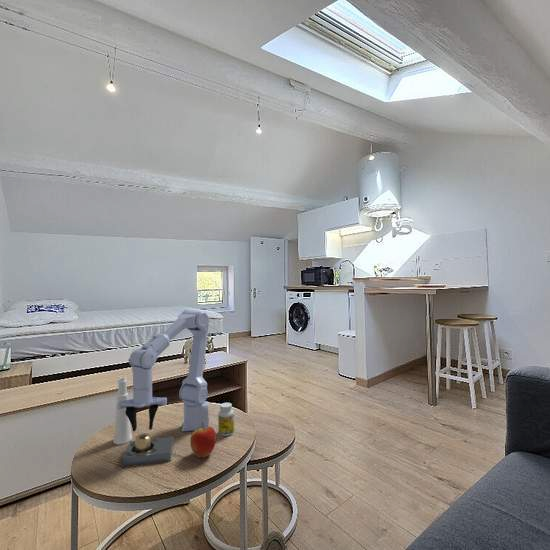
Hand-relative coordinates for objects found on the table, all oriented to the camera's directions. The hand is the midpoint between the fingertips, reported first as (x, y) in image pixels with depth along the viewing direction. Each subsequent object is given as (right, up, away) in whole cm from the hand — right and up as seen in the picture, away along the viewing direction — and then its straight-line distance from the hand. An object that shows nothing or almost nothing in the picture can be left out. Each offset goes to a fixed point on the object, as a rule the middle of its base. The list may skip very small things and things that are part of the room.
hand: (142, 429), depth 101 cm
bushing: (0, -8, 0) cm, 8 cm away
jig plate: (+2, -8, 0) cm, 9 cm away
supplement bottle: (+25, -9, +14) cm, 30 cm away
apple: (+19, -9, 0) cm, 21 cm away
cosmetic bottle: (-11, -9, +10) cm, 17 cm away
